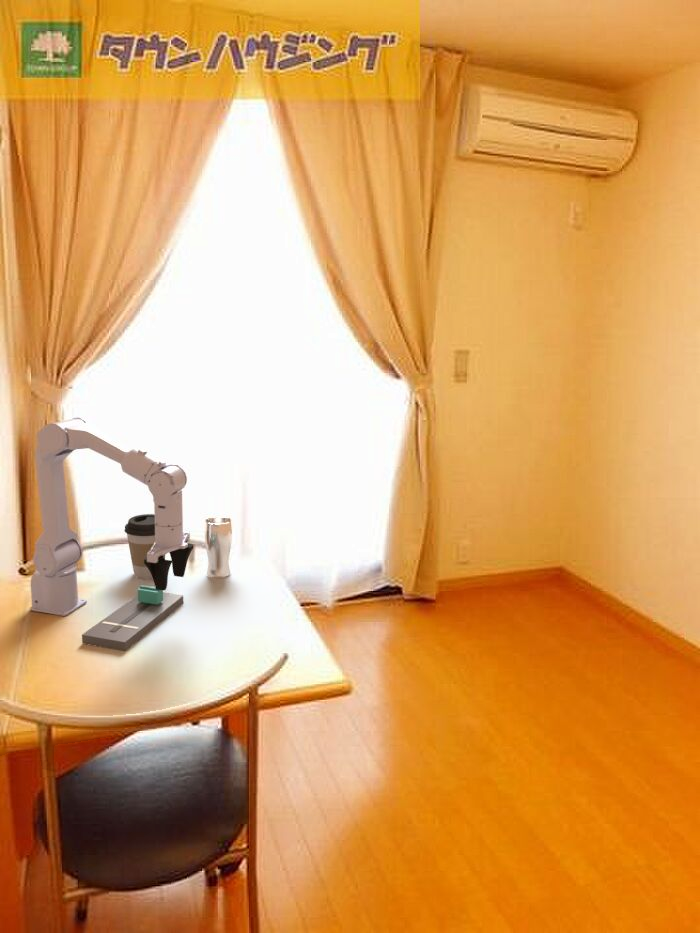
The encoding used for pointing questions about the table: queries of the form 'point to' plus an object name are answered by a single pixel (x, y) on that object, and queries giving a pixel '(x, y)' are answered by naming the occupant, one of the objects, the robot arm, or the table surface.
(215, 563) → the beer glass
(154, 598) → the fader tab
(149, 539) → the coffee cup
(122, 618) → the fader console
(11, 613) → the table surface
